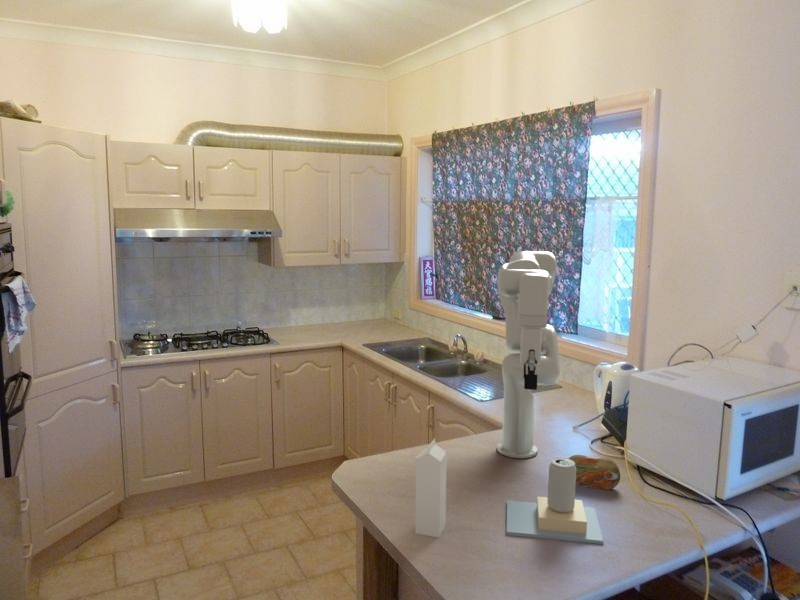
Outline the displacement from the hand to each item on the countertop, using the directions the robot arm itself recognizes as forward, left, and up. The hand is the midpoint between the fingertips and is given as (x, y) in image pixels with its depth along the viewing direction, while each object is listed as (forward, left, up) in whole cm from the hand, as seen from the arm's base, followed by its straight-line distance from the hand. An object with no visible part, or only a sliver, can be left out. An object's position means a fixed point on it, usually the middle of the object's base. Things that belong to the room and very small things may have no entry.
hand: (529, 383), depth 164 cm
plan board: (+16, +6, -30) cm, 35 cm away
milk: (+25, -23, -31) cm, 46 cm away
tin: (-7, +18, -31) cm, 36 cm away
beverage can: (+16, +8, -27) cm, 32 cm away
